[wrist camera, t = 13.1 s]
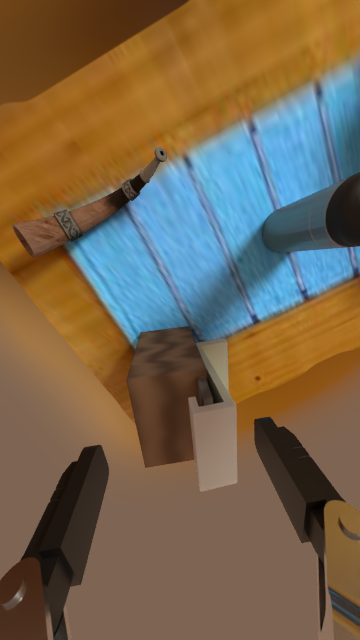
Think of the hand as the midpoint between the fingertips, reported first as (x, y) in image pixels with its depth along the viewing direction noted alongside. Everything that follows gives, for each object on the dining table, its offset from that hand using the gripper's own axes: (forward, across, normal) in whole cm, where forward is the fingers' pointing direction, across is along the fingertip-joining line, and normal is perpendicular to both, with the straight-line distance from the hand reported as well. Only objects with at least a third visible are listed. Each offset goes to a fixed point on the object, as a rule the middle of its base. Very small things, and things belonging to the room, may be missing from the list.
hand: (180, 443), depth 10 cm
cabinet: (+37, +2, +16) cm, 40 cm away
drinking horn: (+37, +11, -20) cm, 44 cm away
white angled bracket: (+31, -5, +16) cm, 36 cm away
